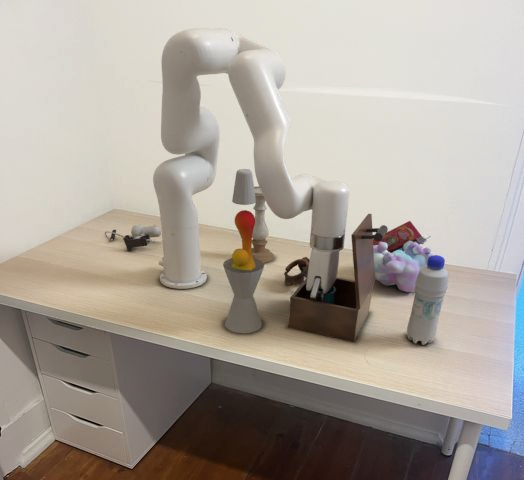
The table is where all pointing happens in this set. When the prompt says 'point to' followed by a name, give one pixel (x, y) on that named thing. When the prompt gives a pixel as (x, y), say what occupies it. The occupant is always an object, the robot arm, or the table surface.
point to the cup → (327, 295)
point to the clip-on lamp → (138, 236)
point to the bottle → (428, 300)
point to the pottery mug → (298, 278)
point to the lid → (365, 257)
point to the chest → (329, 311)
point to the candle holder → (260, 230)
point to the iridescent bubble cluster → (400, 257)
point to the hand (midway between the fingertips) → (320, 311)
